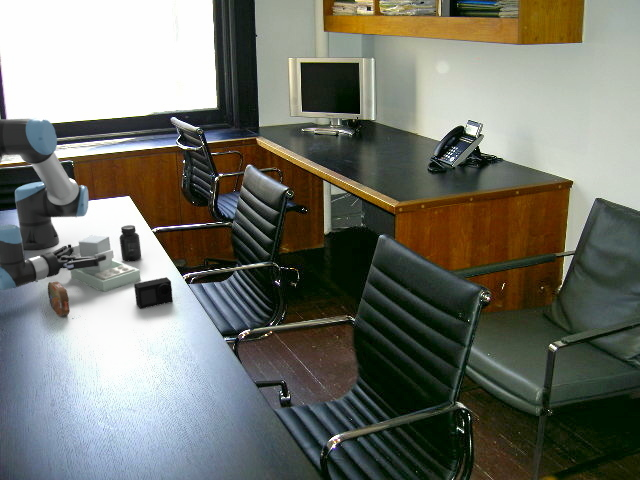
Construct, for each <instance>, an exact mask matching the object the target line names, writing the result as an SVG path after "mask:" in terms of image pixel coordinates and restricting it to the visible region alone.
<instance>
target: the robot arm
mask: <svg viewBox="0 0 640 480" xmlns="http://www.w3.org/2000/svg"><path fill="white" fill-rule="evenodd" d="M57 145H58V137H57V134H56V129H55V127H54V126H53V124H52V123H51V121H49V120H48V119H46V118H38V117H31V118H13V119H12V118H10V119H9V118H8V119H7V118H6V119H3V118H1V119H0V164H1V163H2V161H3V160H2V159H3V157H4V156H19V157H20V158H21V159H22V160H23V161H24V162H25V163H26V164H29V165H31V166H32V168H33V169H34V172H36V174H37V175H38V177H39V178H40V180H41V181H37V182H31V183H26V184H23V185H22V186H19V187H17V188H16V189H15V191H14V202H15V206H16V213H17V219H18V225H15V224H2V225H0V291H8V290H12V289H16V288H19V287H21V286H25V285H28V284H31V283H38V282H39V281H41V280H45V279H47V278H48V279H49V278H52V277H54V276H57V275H59V273H60V270H61V269H66V270H67V271H70V270H73V269H79V268H86V267H93V266H98V265H99V262H102V261H105V260H109V259H114V258H115V257H114V250H113V249H111V250H109V251H106V252H102V253H99V254H96V255H94V256H88V257H81V256H77V257H76V256H75V255H77V254H80V247H79V244H77V245H73V246H72V244H67V245H63V246H62V247H60V248H58V249H56V250H55V251H53V252H47V253H44V254H40V255H36V256H32V257H29V258H26V259H25V252H24V250H28V251H31V250H32V251H34V250H35V251H36V250H42V249H48V248H51V247H54V246H57V245H58V244H59V243H60V237H59V233H58V232H57V230H56V228H55V226H54V224H53V222H52V218H78V217H80V218H81V217H84V216H86V214H87V213H88V209H89V190H88V187H87V186H86V185H83V184H81V185H78V183H77V182H76V181H75V180H74V179H72V178H70V177H69V176H68V174H67V172H66V171H65V169H64V167H63V165H62V163H61V162H60V160H59V159H58V157H57V155H56V153H55V151H56V149H57V147H58V146H57ZM70 272H71V271H70Z"/></svg>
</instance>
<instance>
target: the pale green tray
mask: <svg viewBox="0 0 640 480" xmlns="http://www.w3.org/2000/svg"><path fill="white" fill-rule="evenodd" d="M112 265H113V268H116V267H118V266H120V265H125V266H127V267H130V268H133V269H134V271H132V272H128V273H125V274H122V275H119V276H116V277H113V278H110V279H107V280H104V281H103V280H101V279H99V278H96V277H94V276H92V275H89V274H87V273H85V272H83V269H82V268H79V269H73V270H70V277H71V279H74V280H76V281H78V282H80V283H83V284H85V285H87V286H90V287H91V288H94V289H96V290H98V291H101V292H103V293H105V292H109V291H112V290H113V289H114V290H115V289H117V288H120V287H123V286H126V285H130V284H133V283H135V282H138V281H141V280H142V279H141V278H142V277H141V271H140V269H138V268H136V267H133V266H130V265H129V264H126V263H123V262H121V261H117V260H115V259H114V258H112Z"/></svg>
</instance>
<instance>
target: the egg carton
mask: <svg viewBox="0 0 640 480" xmlns="http://www.w3.org/2000/svg"><path fill="white" fill-rule="evenodd" d="M132 271H134V269H133V268H130V267H127V266H125V265H120V266H118V267H116V268H111V269H109V270H106V271H102V272H100V273H97V274H95V277H96V278H99V279H101V280H103V281H104V280H107V279H110V278H113V277H116V276H119V275H122V274H125V273H128V272H132Z"/></svg>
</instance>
